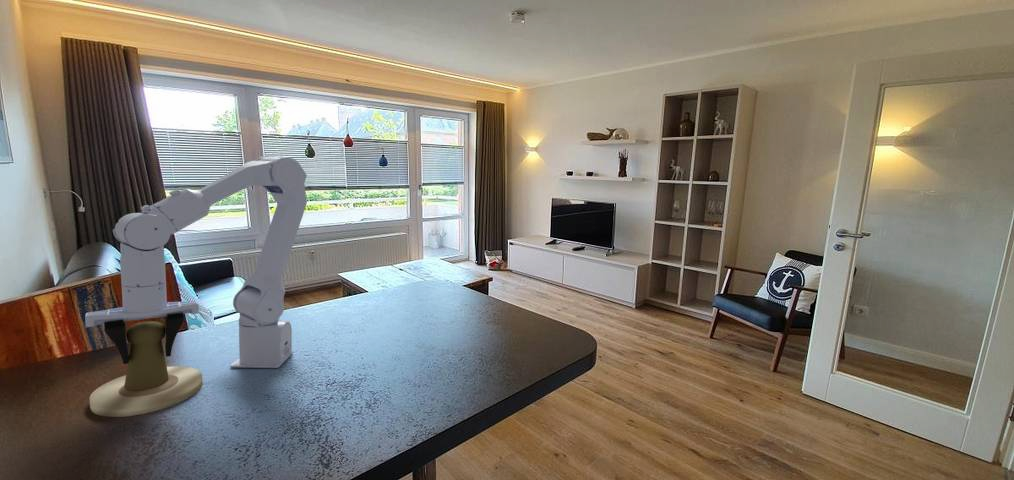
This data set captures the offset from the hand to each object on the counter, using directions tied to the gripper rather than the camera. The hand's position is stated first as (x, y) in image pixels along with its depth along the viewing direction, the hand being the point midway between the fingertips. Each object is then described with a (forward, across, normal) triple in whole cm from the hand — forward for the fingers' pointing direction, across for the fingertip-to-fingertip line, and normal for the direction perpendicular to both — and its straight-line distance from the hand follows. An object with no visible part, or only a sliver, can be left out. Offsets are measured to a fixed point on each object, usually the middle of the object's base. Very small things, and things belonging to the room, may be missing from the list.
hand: (148, 358), depth 71 cm
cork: (+5, 0, -1) cm, 5 cm away
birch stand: (+7, 0, 0) cm, 7 cm away
